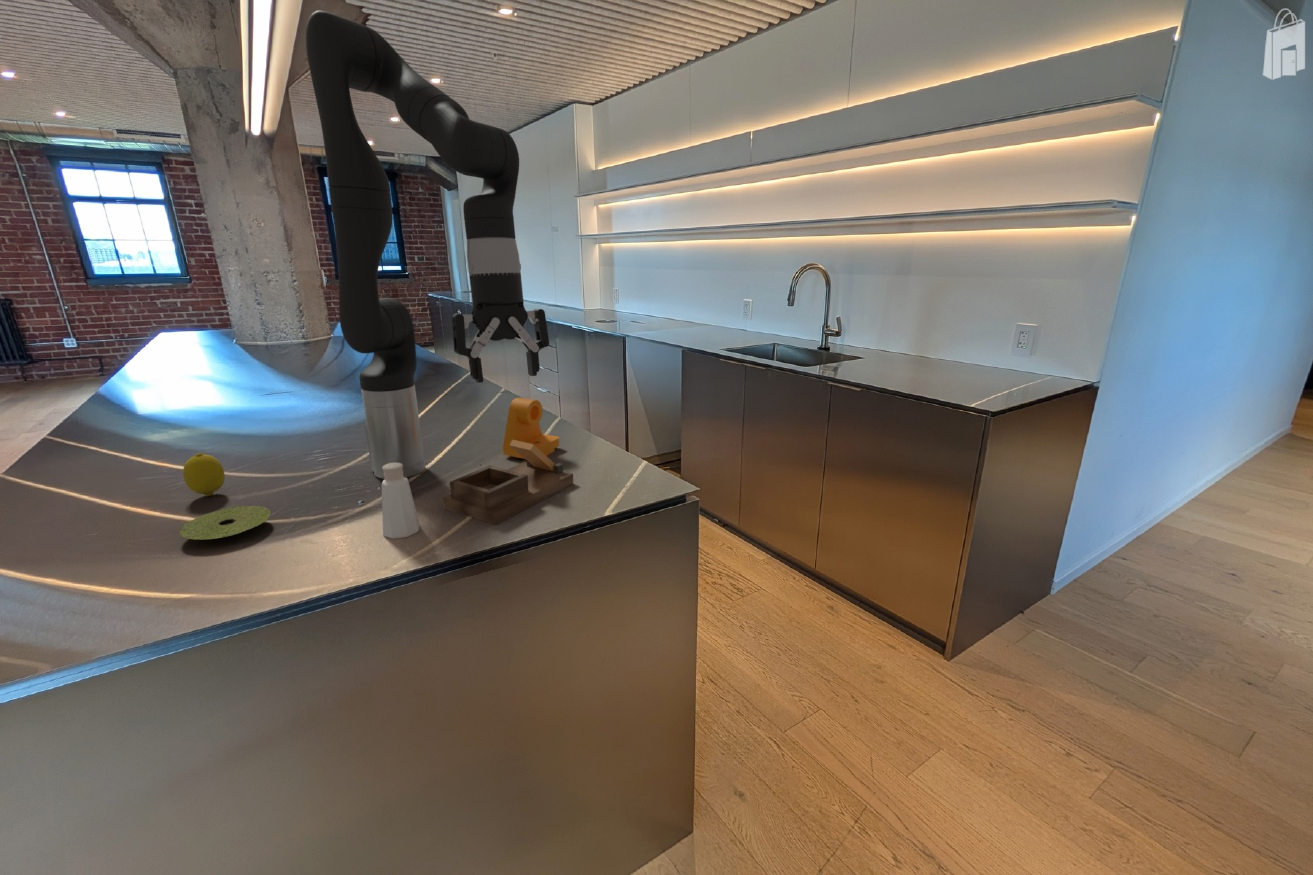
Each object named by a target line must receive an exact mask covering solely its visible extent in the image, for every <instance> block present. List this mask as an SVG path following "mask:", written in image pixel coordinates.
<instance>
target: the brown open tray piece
mask: <svg viewBox="0 0 1313 875" xmlns="http://www.w3.org/2000/svg"><path fill="white" fill-rule="evenodd" d="M573 484H574V474H573V473H572V472H568V471H564V463H560V462H559V463H556V465H554V471H550V470H546V469H542V468H538V467H534V466H533V465H532V464H531V463H530V462H529V461H527V460H526V461H524V462H521V463H519V464H516V465H514V466H512V467H509V468H507V469H505V468H502V467H497V466H493V465H486V466H485V467H482V468H479V469H478V470H475V471H473V472H470V473H468V474H465V475H463V476H460V477H458V478H455V479H453V480H451V481H449V487H450V494H447V495H446V496H443V497H442V500H443V508H444V509H445V510H449V511H451V512H456V513H458V514H461V515H463V516H464V515H465V516H467V517H470V518H473V519H476V520H479V521H483V522H484V523H488V524H491V525H494V526H496V525H499V524H500V523H502V522H504V521H506V520H507V519H510V518H511V517H513V516H515V515H517V514H519V513H521V512H522V511H524V510H526V509H529V508H531V507H532V506H534V505H536V504H538V503H539V502H541V501H543V500H546V499H547V498H549V497H551V496H553V495H555V494H556V493H558V492H560V491H562V490H565V489H566V488H567V487H569V486H571V485H573Z"/></svg>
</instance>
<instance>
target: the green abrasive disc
mask: <svg viewBox="0 0 1313 875" xmlns="http://www.w3.org/2000/svg"><path fill="white" fill-rule="evenodd" d="M271 513H272V512H271V511H270V509H269V508H267V507H264V506H258V505H242V506H240V505H239V506H234V507H229V508H227V507H226V508H225V509H218V510H216V511H212V512H209V513H205V514H204V515H199V516H198V517H195V518H193V519H191V520H189V521H188V522H186V523H185V524H184V525H183V526H182V527H181V528H180V530H179V535H180V536H181V537H183V538H185V539H191V540H194V541H195V540H200V541H201V540H213V539H220V538H226V537H230V536H231V537H232V536H234V535H237V534H241V533H242V532H246V531H248V530H250V529H253V528H255V527H258V526H259V525H262V524H263V523H264V522H265V521H266V520H268V519H269V518H270V515H272V514H271Z"/></svg>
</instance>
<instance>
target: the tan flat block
mask: <svg viewBox="0 0 1313 875" xmlns="http://www.w3.org/2000/svg"><path fill="white" fill-rule="evenodd" d="M510 446H511V447H512V448H513V449H514V450H516V451H517V452H518V453H519V454H520V455H522V456H523V457H524V458H525V459H524V460H526V462H527V461H529V462H530V463H531V464H532V465H533V466H534V467H538V468H542V469H546V470H550V471H554V465H556V464H557V463H556V464H555V462H554V461H552V460H551V459H550V458H549V457H548V455H547V456H546V455H545V454H544V453H542V452H541V451H540V450H539V449H538V448H537V447H536V446H535V445H534V444H530V443H525V442H521V441H517V440H512V442H511V443H510Z"/></svg>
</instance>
